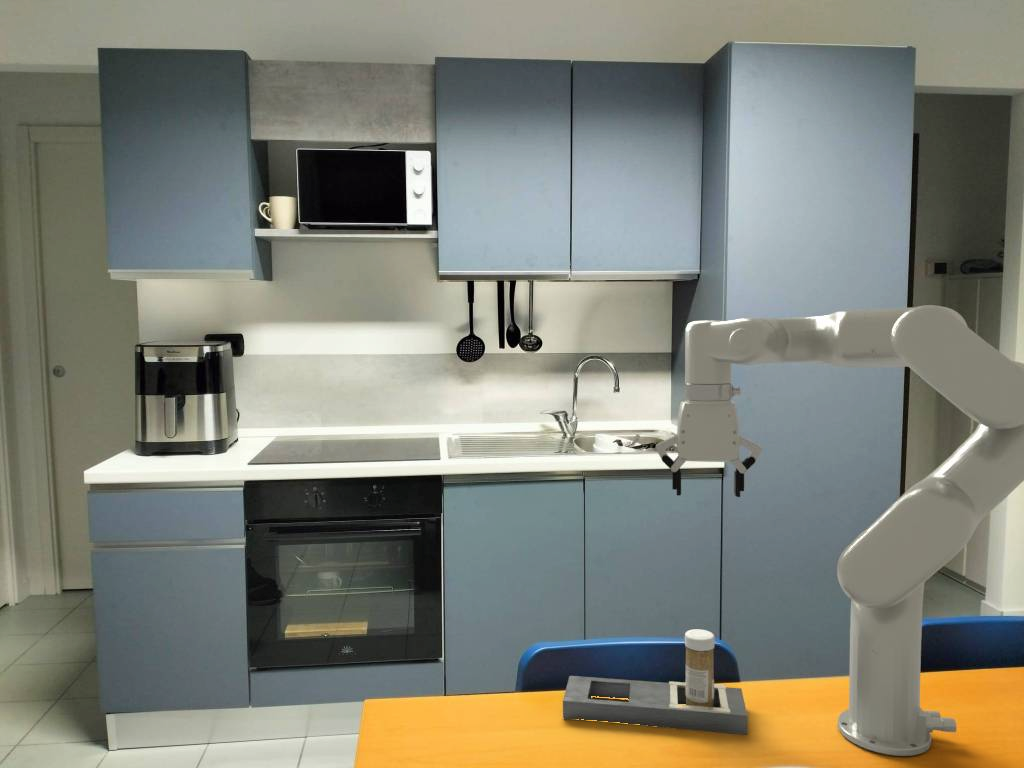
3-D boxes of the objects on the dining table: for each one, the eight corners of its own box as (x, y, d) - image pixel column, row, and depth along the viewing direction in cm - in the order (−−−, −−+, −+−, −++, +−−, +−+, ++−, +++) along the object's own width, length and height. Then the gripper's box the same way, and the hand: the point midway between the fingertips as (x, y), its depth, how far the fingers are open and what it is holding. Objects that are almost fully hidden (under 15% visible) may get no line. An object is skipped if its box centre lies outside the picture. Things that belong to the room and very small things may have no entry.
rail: (741, 706, 124) (741, 686, 123) (747, 734, 115) (747, 713, 114) (569, 692, 129) (569, 673, 129) (563, 719, 120) (562, 698, 120)
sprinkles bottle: (719, 716, 120) (720, 633, 120) (704, 727, 117) (704, 641, 116) (695, 706, 124) (695, 625, 123) (678, 716, 120) (678, 633, 120)
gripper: (758, 392, 130) (758, 491, 131) (655, 392, 133) (656, 489, 134) (764, 395, 122) (763, 501, 123) (655, 395, 126) (655, 498, 127)
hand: (707, 494), depth 129 cm, fingers open, 9 cm apart
